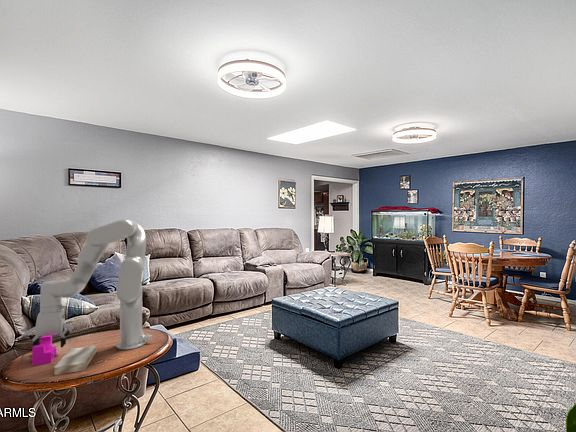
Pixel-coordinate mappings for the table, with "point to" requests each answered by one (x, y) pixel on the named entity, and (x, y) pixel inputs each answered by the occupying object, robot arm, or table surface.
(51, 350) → the toy block
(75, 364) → the plinth
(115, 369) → the table surface
